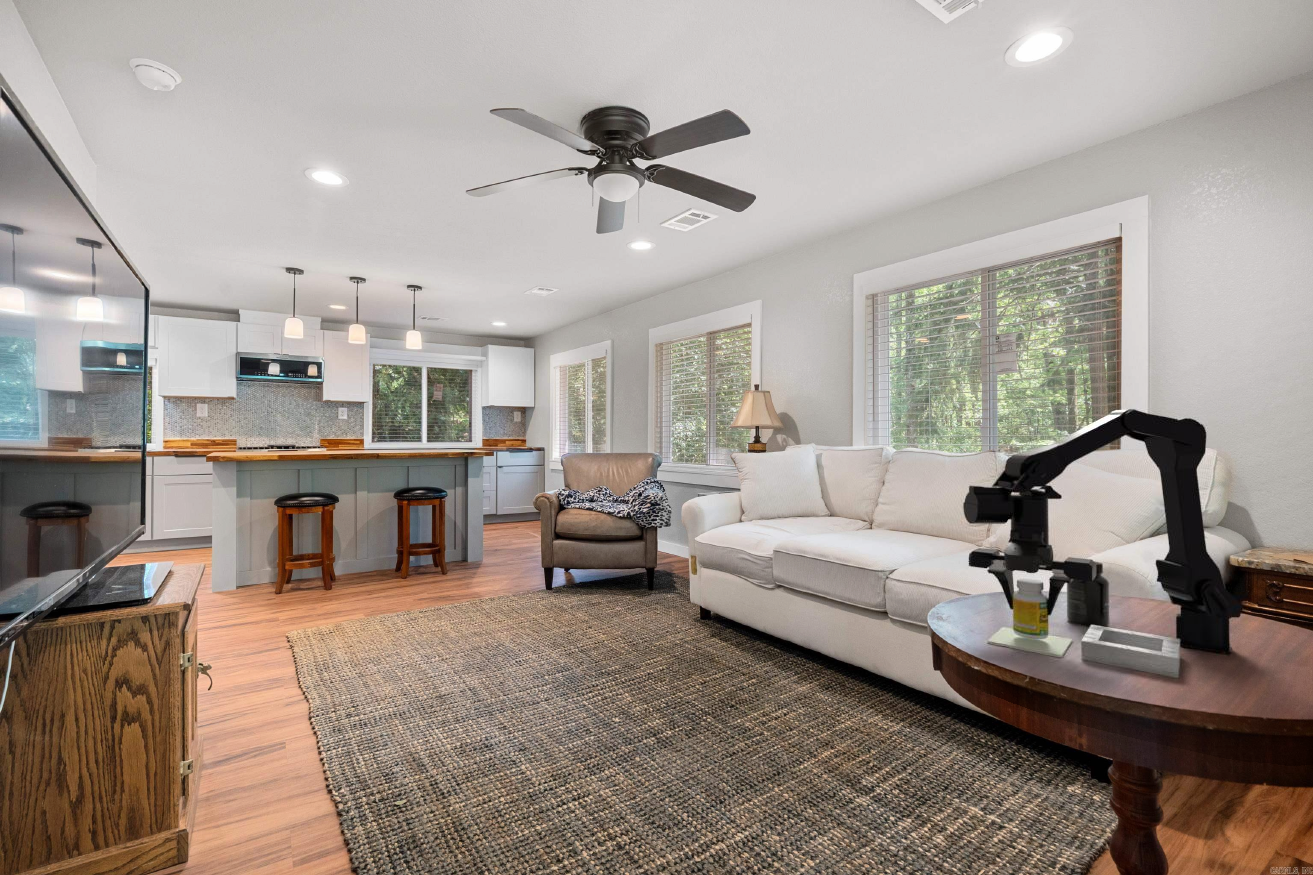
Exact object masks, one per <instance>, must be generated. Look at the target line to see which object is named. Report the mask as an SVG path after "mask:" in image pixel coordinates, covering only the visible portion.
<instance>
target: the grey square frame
mask: <svg viewBox="0 0 1313 875" xmlns="http://www.w3.org/2000/svg"><path fill="white" fill-rule="evenodd" d="M1080 642H1081V647H1080V648H1081V651H1080V652H1081V658H1080V659H1081V660H1084V661H1090V662H1093V663H1100V664H1104V665H1110V666H1115V667H1119V668H1124V669H1128V670H1133V671H1134V670H1135V671H1140V672H1145V673H1150V674H1155V675H1160V676H1165V677H1169V678H1175V679H1179V677H1180V676H1179V674H1180V668H1181V667H1180V666H1181V665H1180V664H1181V646H1180V639H1177V638H1175V637H1170V636H1164V635H1163V636H1162V635H1157V634H1151V633H1146V632H1138V631H1133V630H1127V629H1121V628H1115V627H1110V626H1109V627H1108V626H1107V627H1103V626H1097V625H1091V626H1090V627H1088V629H1087V631H1086V632H1085V634H1084V636H1083V637H1082V639H1081V641H1080Z"/></svg>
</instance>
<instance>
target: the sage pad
mask: <svg viewBox="0 0 1313 875" xmlns="http://www.w3.org/2000/svg"><path fill="white" fill-rule="evenodd" d="M1072 642H1073V639H1072V638H1067V637H1061V636H1060V637H1059V636H1054V635H1050V634H1048V637H1047V638H1045V639H1030V638H1024V637H1021V636H1018V635H1017V634H1015V633H1014V631H1013V627H1011V628H1010V627H1005V626H1002V627H1001V628H1000V629H999V630H997V632H995V633H994V634H993V635H992V636H991V637H990V638H989V639H987V644H989V643H990V644H991V645H996V646H999V645H1001V646H1002V647H1004V646H1005V647H1006V648H1011V649H1014V648H1015V649H1014V650H1020V651H1025V652H1031V653H1035V654H1040V655H1045V656H1050V657H1056V658H1061V659H1062V658H1063V657H1064V655H1065V654H1066V652H1067V651H1068V649H1069V648H1070V646H1071V644H1072Z"/></svg>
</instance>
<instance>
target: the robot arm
mask: <svg viewBox="0 0 1313 875" xmlns="http://www.w3.org/2000/svg"><path fill="white" fill-rule="evenodd" d="M1124 436H1127V437H1129V438H1130V439H1133V440H1136V441H1139V442H1143V443H1144V446H1145V448H1146V451H1147V455H1148V456H1149V457H1150V459H1151V460H1152V462H1153V463H1154V464H1155V465H1156V467H1157V468H1158V470H1159V474H1160V481H1161V490H1162V497H1163V498H1162V499H1163V507H1164V508H1163V509H1164V515H1165V524H1166V531H1167V540H1168V552H1167V554H1166V556H1165V558H1164V559H1156V560H1155V566H1156V567H1155V568H1156V570H1157V578H1156V582H1157V583H1160V585H1161V589H1162V590H1163V591H1165V593H1166V594H1168V595H1167V596H1168V598H1169V600H1170V602H1171V604H1172V605H1175V606H1179V607H1180V613H1176V614H1175V615H1176V616H1175V626H1176V627H1175V629H1176V630H1175V632H1176V633H1175V637H1176V638H1177V639H1180V647H1186V648H1191V649H1196V650H1197V649H1198V650H1203V651H1209V652H1215V653H1220V654H1221V653H1222V654H1227V655H1231V654H1232V649H1231V643H1230V642H1231V640H1230V638H1231V636H1230V633H1231V632H1230V630H1231V628H1230V619H1232V618H1235V619H1236V618H1237V619H1238V618H1240V617H1241V614H1242V612H1243V610H1244V605H1243V604H1242V602H1240V601H1239V600H1238V599H1237V598H1236V597H1234V596H1233V595H1232V594H1231V592H1229V591H1228V590H1227V589H1226V585H1225V582H1224V579H1223V575H1222V572H1221V570H1220V568H1219V566H1218V565H1217V563H1216V562H1215V561H1214V559H1213V558H1212V557H1211V556H1210V553H1208V550H1207V543H1206V536H1205V526H1204V520H1203V518H1204V517H1203V510H1202V502H1201V495H1200V486H1199V479H1198V467H1199V465H1200V463H1201V462H1202V459H1203V458H1204V456H1205V454H1206V448H1207V431H1206V427H1205V426H1204V424H1202V423H1201V422H1199V421H1197V420H1196V419H1193V418H1190V417H1189V418H1187V417H1186V418H1185V417H1184V418H1183V417H1182V418H1181V417H1179V418H1173V417H1169V416H1162V415H1157V414H1153V413H1152V414H1151V413H1147V412H1145V411H1140V410H1137V409H1136V408H1135V409H1134V408H1133V409H1131V408H1129V409H1128V408H1127V409H1116V410H1113V411H1111V412H1110V413H1108V414H1107V415H1106V416H1104V417H1102V418H1100V419H1098V420H1096V421H1094V422H1092V423H1090V424H1088V425H1086V426H1084V427H1083V428H1081V429H1079V430H1077V431H1075V432H1073V433H1071V434H1069V435H1066V436H1064V437H1063V438H1061V439H1058V440H1057V441H1055V442H1053V443H1051V444H1047V445H1043V446H1039V447H1036V448H1030V449H1028V450H1025V451H1022V452H1018V453H1015V454H1012V455H1011V456H1010V457H1008V458H1007V460H1005V466H1004V469H1003V471H1002V472H1001V474H1000V475H999V476H998V478H997V479H996V480H995V481H994V483H993V484H992V485H991V486H983V485H969V486H968V492H967V493H966V495H965V498H964V502H963V505H962V508H963V509H962V510H963V514H964V518H965V519H966V521H967V523H969V524H971V525H973V524H974V525H975V524H977V525H979V524H980V525H982V524H983V525H984V524H985V525H995V524H996V525H997V524H999V525H1003V524H1004V525H1005V524H1006V523H1008V521H1009V520H1010V532H1009V539H1008V542H1007V544H1006V547H1005V549H1004V550H1003V554H1000V551H999V549H993V548H992V549H991V548H983V547H981V548H980V547H979V548H978V547H977V548H976V549H973V550H972V551H971V552H969V554H968V567H972V568H977V569H978V568H980V569H986V572H987V573H988V574H992V575H994V577H995V578H996V579H997V581H998V583H999V584H1000V586H1001V588H1002V590H1003V593H1004V595H1005V599H1006V601H1007V602H1006V603H1007V604H1008V607H1009V609H1010V610H1011V611H1013V593H1014V592H1015V586H1014V574H1013V572H1015V571H1019V572H1026V573H1027V574H1036V573H1038V572H1039V570H1041V571H1047V572H1049V571H1050V572H1051V573H1052V576H1050V577H1049V579H1048V582H1049V587H1048V588H1049V589H1048V595H1047V597H1048V604H1047V614H1048V616H1052V613H1053V611H1054V608H1055V606H1056V603H1057V601H1058V598H1059V595H1060V593H1061V591H1062V590H1063V588H1064V586H1065V584H1067V583H1071V582H1072V581H1073V580H1074V579H1077V580H1085V581H1093V579H1094V578H1095V577H1096V563H1095V562H1096V561H1094V560H1093V559H1092V558H1091V559H1090V558H1082V557H1069V556H1068V557H1067V558H1066V559H1065V560H1064V561H1062V560H1054V550H1053V546H1052V544H1050V543H1049V542H1050V541H1049V538H1050V537H1049V536H1050V535H1049V532H1050V531H1049V530H1050V529H1049V500H1061V499H1062V497H1063V496H1062V494H1060V493H1059V492H1058V491H1056V490H1055V489H1054V488H1053V486H1051V484H1050V483H1051V482H1052V481H1054V480H1055V479H1057V478H1058V477H1059V476H1060V475H1062V474H1063V473H1064V471H1065V470H1066V469H1067V467H1068V466H1069V465H1071V464H1072V463H1074V462H1076V461H1078V460H1079V459H1082V458H1084V457H1085V456H1088V455H1090V454H1091V453H1094V452H1095V451H1097V450H1099V449H1102V448H1103V447H1105V446H1107V445H1109V444H1111V443H1114V442H1115V441H1117V440H1119V439H1121V438H1123V437H1124ZM1048 484H1050V485H1048ZM1035 487H1036V488H1035ZM1038 487H1039V488H1038ZM1034 488H1035V489H1034ZM1012 493H1014V494H1012Z"/></svg>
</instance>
